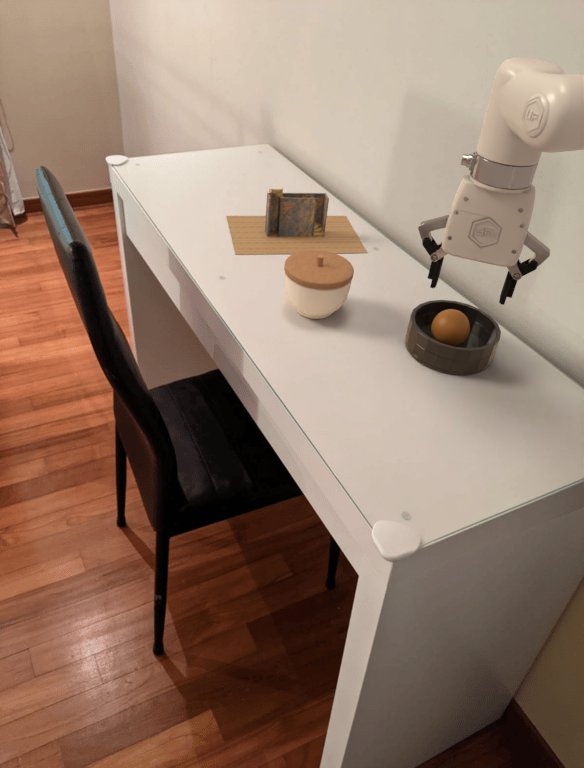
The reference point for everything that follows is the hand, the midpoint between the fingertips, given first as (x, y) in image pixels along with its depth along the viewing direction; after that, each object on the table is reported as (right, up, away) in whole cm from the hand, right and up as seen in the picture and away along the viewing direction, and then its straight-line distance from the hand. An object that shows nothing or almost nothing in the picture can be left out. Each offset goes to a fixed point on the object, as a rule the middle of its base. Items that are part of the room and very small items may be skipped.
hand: (467, 291), depth 86 cm
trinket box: (-21, -1, +12) cm, 25 cm away
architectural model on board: (-24, +16, +33) cm, 44 cm away
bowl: (-1, -8, +7) cm, 10 cm away
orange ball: (-1, -7, +6) cm, 10 cm away
